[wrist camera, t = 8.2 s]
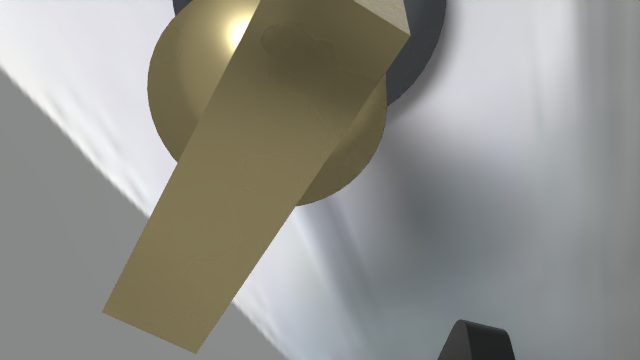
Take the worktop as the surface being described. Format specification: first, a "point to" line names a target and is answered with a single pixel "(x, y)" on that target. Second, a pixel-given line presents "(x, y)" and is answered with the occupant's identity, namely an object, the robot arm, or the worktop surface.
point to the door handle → (250, 142)
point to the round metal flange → (424, 25)
